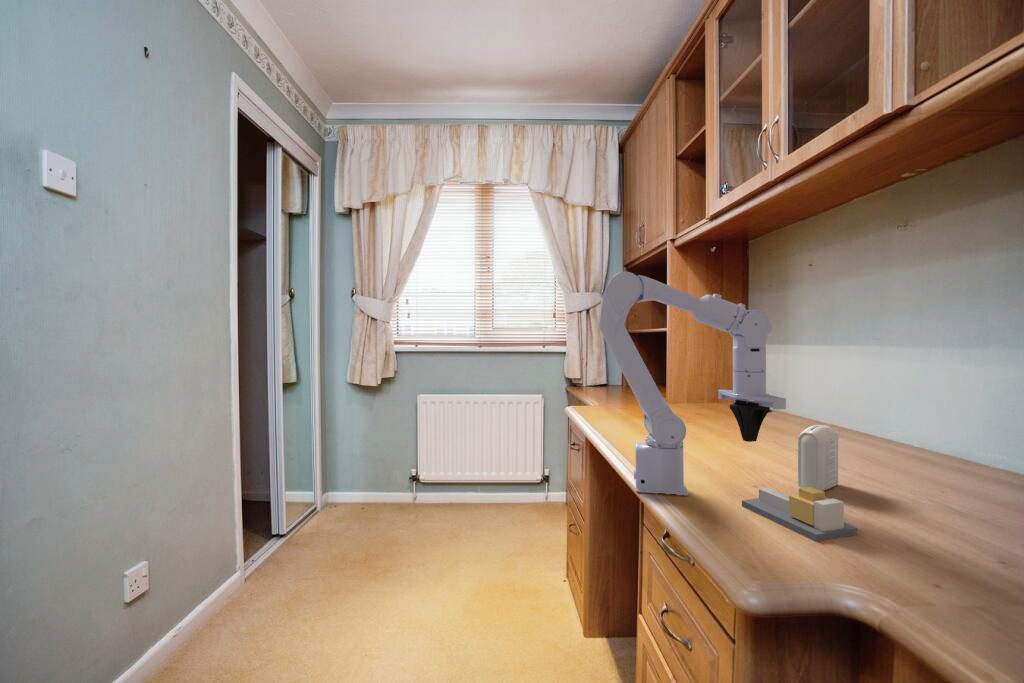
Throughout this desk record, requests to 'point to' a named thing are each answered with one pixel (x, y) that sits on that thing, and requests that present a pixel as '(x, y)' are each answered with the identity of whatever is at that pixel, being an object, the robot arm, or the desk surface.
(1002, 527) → the desk surface
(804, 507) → the slider
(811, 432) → the photo printer
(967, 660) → the desk surface
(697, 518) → the desk surface
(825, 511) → the rail board
